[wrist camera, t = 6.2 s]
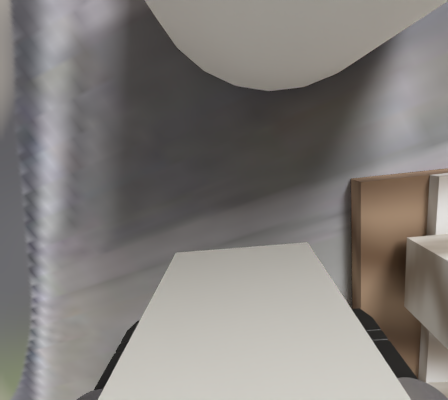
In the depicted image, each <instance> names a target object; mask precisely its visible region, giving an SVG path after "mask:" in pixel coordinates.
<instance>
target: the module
mask: <svg viewBox="0 0 448 400" xmlns="http://www.w3.org/2000/svg"><path fill="white" fill-rule="evenodd" d="M98 400H411V399H410V397H409V396H408V394H407V393H406V391H405V390H404V388H403V387H402V385H401V383H400V382H399V380H398V379H397V377H396V376H395V374H394V373H393V371H392V370H391V368H390V367H389V365H388V364H387V362H386V361H385V359H384V358H383V356H382V355H381V353H380V352H379V350H378V349H377V347H376V346H375V344H374V342H373V341H372V339H371V338H370V336H369V335H368V333H367V332H366V330H365V329H364V327H363V326H362V324H361V323H360V321H359V320H358V318H357V317H356V315H355V314H354V312H353V311H352V309H351V308H350V306H349V305H348V303H347V301H346V300H345V298H344V297H343V295H342V294H341V292H340V291H339V289H338V288H337V286H336V285H335V283H334V282H333V280H332V279H331V277H330V276H329V274H328V273H327V271H326V270H325V268H324V267H323V265H322V263H321V262H320V260H319V259H318V257H317V256H316V254H315V253H314V251H313V250H312V248H311V247H310V245H309V244H308V242H304V243H292V244H279V245H266V246H254V247H241V248H228V249H216V250H203V251H190V252H178V253H175V255H174V257H173V259H172V261H171V263H170V265H169V267H168V268H167V270H166V272H165V274H164V276H163V278H162V280H161V282H160V284H159V285H158V287H157V289H156V291H155V293H154V295H153V297H152V299H151V300H150V302H149V304H148V306H147V308H146V310H145V312H144V314H143V316H142V317H141V319H140V321H139V323H138V325H137V327H136V329H135V331H134V332H133V334H132V336H131V338H130V340H129V342H128V344H127V346H126V348H125V349H124V351H123V353H122V355H121V357H120V359H119V361H118V363H117V364H116V366H115V368H114V370H113V372H112V374H111V376H110V378H109V380H108V381H107V383H106V385H105V387H104V389H103V391H102V393H101V395H100V396H99V398H98Z"/></svg>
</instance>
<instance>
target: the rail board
mask: <svg viewBox="0 0 448 400" xmlns="http://www.w3.org/2000/svg"><path fill="white" fill-rule="evenodd" d="M351 237H352V309H357V308H360V309H361V310H363V311H364V312H366V313H367V314H368V315H370V316H371V317H372V318H373V319H374V320H375V322H376V323H377V324H378V326H379V327H380V328H381V331H383V332H384V334H385V335H386V336H387V338H388V341H390V342H391V343H392V345H393V346H394V347H395V349H396V350H397V351H398V353H399V354H400V355H401V357H402V358H403V359H404V361H405V362H406V363H407V365H408V366H409V367H410V369H411V370H412V372H413V373H414V374H415V376H416V377H417V378H418V380H421V381H423V382H426V383H428V384H430V385H431V386H433V387H435V388H436V389H437V390H439V391H440V392H441V393H443V394H444V395H445V396H446V397H447V398H448V169H438V170H429V171H419V172H410V173H400V174H391V175H381V176H372V177H362V178H353V179H351Z"/></svg>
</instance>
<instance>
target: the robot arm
mask: <svg viewBox="0 0 448 400" xmlns="http://www.w3.org/2000/svg"><path fill="white" fill-rule="evenodd" d="M348 305H349V304H348ZM350 308H351V307H350ZM352 311H353V312H354V314H355V315H356V317H357V318H358V320H359V321H360V323H361V324H362V326H363V327H364V329H365V330H366V332H367V333H368V335H369V336H370V338H371V339H372V341H373V342H374V344H375V346H376V347H377V349H378V350H379V352H380V353H381V355H382V356H383V358H384V359H385V361H386V362H387V364H388V365H389V367H390V368H391V370H392V371H393V373H394V374H395V376H396V377H397V379H398V380H399V382H400V383H401V385H402V387H403V388H404V390H405V391H406V393H407V394H408V396H409V397H410V399H411V400H448V398H447V397H446V396H445V395H444V394H443V393H441V392H440V391H439V390H437V389H436V388H435V387H433V386H431V385H430V384H428V383H426V382H423V381H421V380H418V378H417V377H416V376H415V374H414V373H413V372H412V370H411V369H410V367H409V366H408V365H407V363H406V362H405V361H404V359H403V358H402V357H401V355H400V354H399V353H398V351H397V350H396V349H395V347H394V346H393V345H392V343H391V342H390V341H388V338H387V336H386V335H385V334H384V332H383V331H381V328H380V327H379V326H378V324H377V323H376V322H375V320H374V319H373V318H372V317H371V316H370V315H368V314H367V313H366V312H364V311H363V310H361V309H360V308H357V309H352ZM138 323H139V321H137V322H136V323H135V324H134V325H133V326H132V327H131V328H130V329H129V330H128V331H127V332H126V334H125V336H124V338H123V339H122V341H121V344H120V345H119V346H118V348H117V350H116V353H115V354H114V355H113V357H112V359H111V361H110V362H109V364H108V366H107V368H106V369H105V371H104V373H103V375H102V376H101V378H100V380H99V382H98V384H97V385H96V387H95V389H94V390H93V391H90V392H88V393H86V394H84V395H83V396H81V397H80V398H78V399H77V400H98V398H99V396H100V395H101V393H102V391H103V389H104V387H105V385H106V383H107V381H108V380H109V378H110V376H111V374H112V372H113V370H114V368H115V366H116V364H117V363H118V361H119V359H120V357H121V355H122V353H123V351H124V349H125V348H126V346H127V344H128V342H129V340H130V338H131V336H132V334H133V332H134V331H135V329H136V327H137V325H138Z"/></svg>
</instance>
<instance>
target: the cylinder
mask: <svg viewBox="0 0 448 400" xmlns="http://www.w3.org/2000/svg"><path fill="white" fill-rule="evenodd" d="M447 1H448V0H145V2H146V3H147V5H148V6H149V8H150V9H151V11H152V12H153V14H154V15H155V17H156V18H157V20H158V21H159V23H160V24H161V26H162V27H163V28H164V30H165V31H166V33H167V34H168V36H169V37H170V38H171V40H172V41H173V43H174V44H175V46H176V47H177V48H178V49H179V50H180V51H181V52H182V53H184V54H185V55H186V56H187V57H188V58H189V59H191V60H192V61H193V62H194V63H195V64H196V65H198V66H199V67H200V68H201V69H202V70H203V71H205V72H207V73H209V74H211V75H213V76H215V77H218V78H220V79H222V80H224V81H226V82H228V83H230V84H233V85H235V86H239V87H246V88H252V89H258V90H265V91H275V90H284V89H292V88H300V87H305V86H308V85H310V84H313V83H315V82H317V81H320V80H322V79H325V78H327V77H330V76H332V75H335V74H337V73H339V72H340V71H342V70H343V69H345V68H346V67H348V66H349V65H351V64H353V63H354V62H356V61H357V60H359V59H360V58H362V57H363V56H365V55H366V54H368V53H369V52H371V51H372V50H374V49H375V48H377V47H378V46H380V45H381V44H383V43H384V42H386V41H388V40H389V39H391V38H392V37H394V36H395V35H397V34H398V33H400V32H401V31H403V30H404V29H406V28H407V27H409V26H410V25H412V24H413V23H415V22H416V21H418V20H419V19H421V18H423V17H424V16H426V15H427V14H429V13H430V12H432V11H433V10H435V9H436V8H438V7H439V6H441V5H442V4H444V3H445V2H447Z"/></svg>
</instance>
